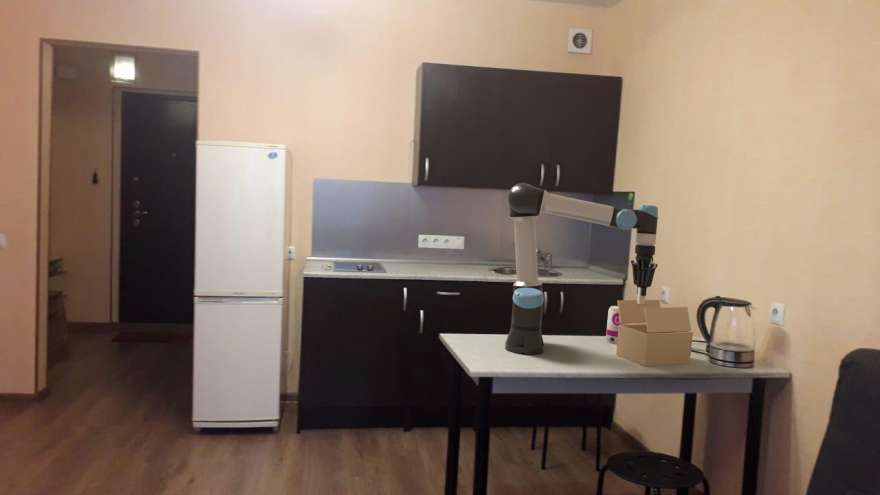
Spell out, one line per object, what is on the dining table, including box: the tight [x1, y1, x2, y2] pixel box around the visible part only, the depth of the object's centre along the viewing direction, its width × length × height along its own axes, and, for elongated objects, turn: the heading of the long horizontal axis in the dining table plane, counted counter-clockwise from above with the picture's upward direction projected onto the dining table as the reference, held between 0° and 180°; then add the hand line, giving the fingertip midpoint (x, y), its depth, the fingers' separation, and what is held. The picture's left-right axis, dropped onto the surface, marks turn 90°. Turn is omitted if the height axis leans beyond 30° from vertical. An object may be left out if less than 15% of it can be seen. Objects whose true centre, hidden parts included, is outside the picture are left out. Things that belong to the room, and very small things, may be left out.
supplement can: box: [605, 305, 628, 345], centre depth 272 cm, size 8×8×15 cm
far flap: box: [616, 299, 662, 324], centre depth 253 cm, size 21×9×1 cm
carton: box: [615, 323, 694, 367], centre depth 246 cm, size 22×16×12 cm
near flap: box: [644, 306, 692, 332], centre depth 239 cm, size 21×9×1 cm
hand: (640, 303), depth 253 cm, fingers closed
